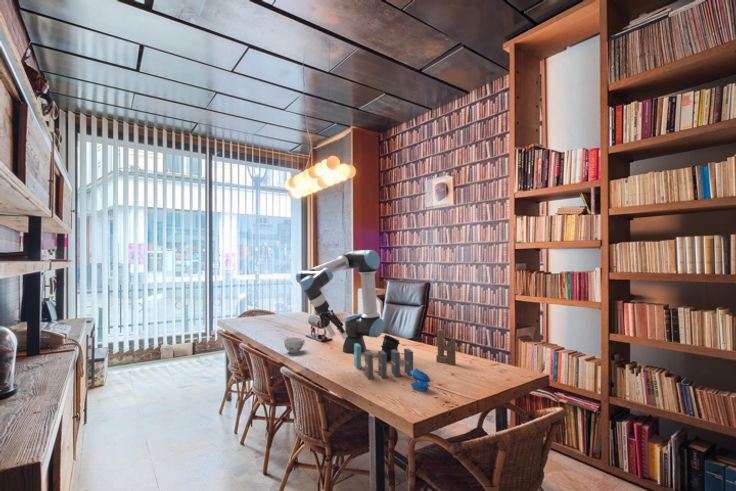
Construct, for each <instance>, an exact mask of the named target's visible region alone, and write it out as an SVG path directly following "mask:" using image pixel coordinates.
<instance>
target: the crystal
mask: <svg viewBox="0 0 736 491" xmlns="http://www.w3.org/2000/svg"><path fill="white" fill-rule="evenodd" d="M410 373H411V375H412V376H411V377H412V378H413V379H414V380H415V381H413V382H411V383H410V386H411V388H412V389H413V390H415V391H419V392H427V391H429V390H430V388H429V387H430V384H429V382H430V383H431V381H432V380H431V379H430V377H429V375H428V374H427V373H426V372H423V371H421V370H420V369H418V368H413V370H411V371H410Z"/></svg>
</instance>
